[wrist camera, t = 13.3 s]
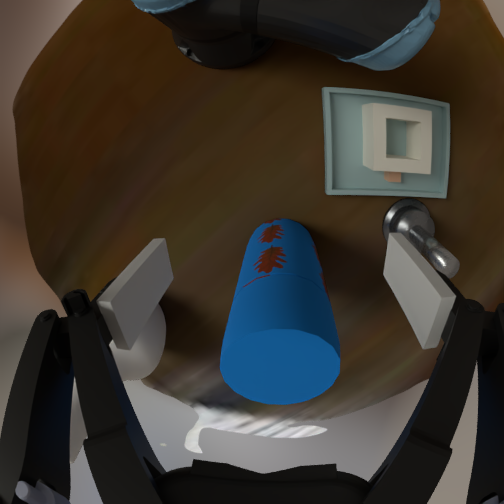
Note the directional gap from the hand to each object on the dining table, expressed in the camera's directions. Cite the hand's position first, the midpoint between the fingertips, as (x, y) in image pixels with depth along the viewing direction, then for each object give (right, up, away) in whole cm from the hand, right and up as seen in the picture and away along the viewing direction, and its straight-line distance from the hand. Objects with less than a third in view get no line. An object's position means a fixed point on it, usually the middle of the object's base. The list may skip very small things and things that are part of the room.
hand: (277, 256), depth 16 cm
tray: (+19, +16, +20) cm, 32 cm away
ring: (+19, +17, +19) cm, 32 cm away
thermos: (+3, +1, +29) cm, 29 cm away
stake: (+24, +5, +25) cm, 35 cm away
